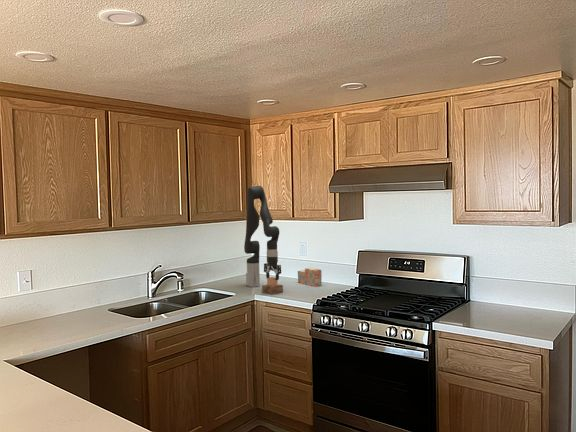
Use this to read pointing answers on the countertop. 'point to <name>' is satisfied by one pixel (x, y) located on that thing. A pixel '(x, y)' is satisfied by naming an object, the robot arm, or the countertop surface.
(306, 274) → the stack of blocks
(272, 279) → the terracotta cube
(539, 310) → the countertop surface
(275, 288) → the walnut block
